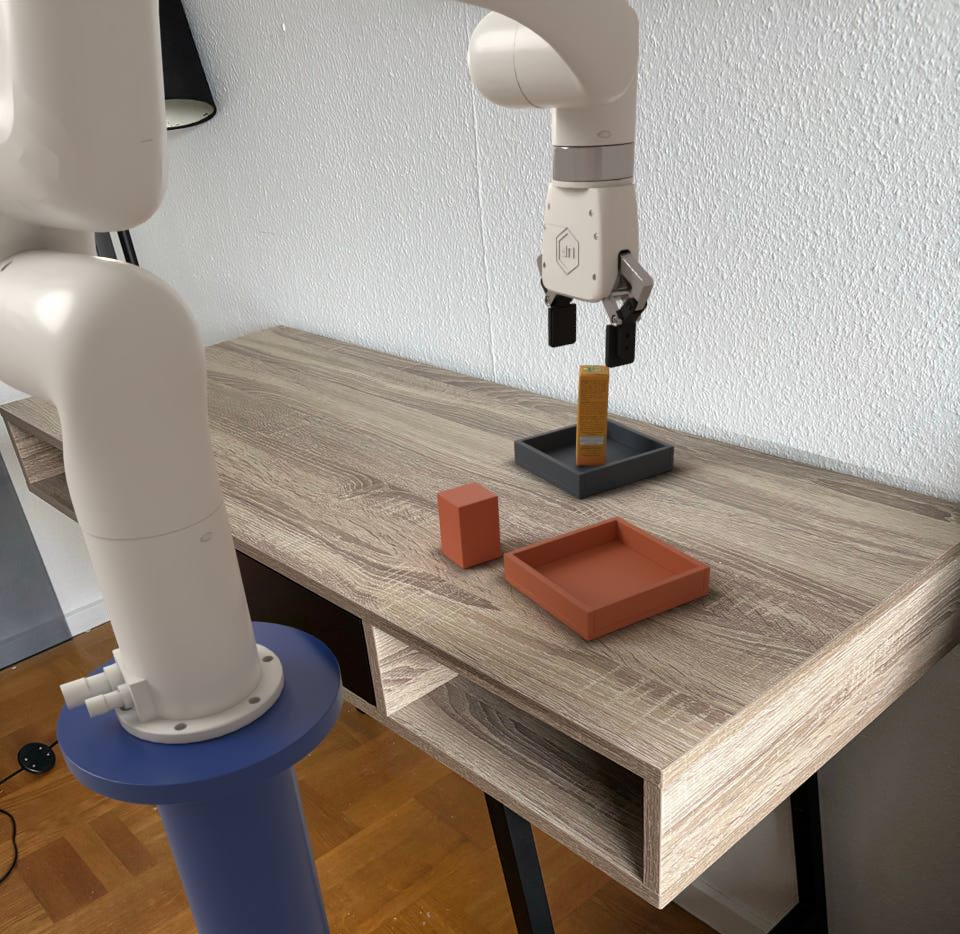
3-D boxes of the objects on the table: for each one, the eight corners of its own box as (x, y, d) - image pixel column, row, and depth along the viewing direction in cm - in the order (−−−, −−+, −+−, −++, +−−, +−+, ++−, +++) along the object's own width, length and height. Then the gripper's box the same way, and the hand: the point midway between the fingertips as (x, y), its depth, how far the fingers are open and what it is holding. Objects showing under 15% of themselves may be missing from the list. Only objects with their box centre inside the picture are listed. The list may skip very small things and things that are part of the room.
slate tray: (579, 499, 95) (579, 475, 94) (514, 463, 104) (513, 440, 103) (673, 469, 100) (674, 446, 99) (603, 437, 109) (603, 416, 108)
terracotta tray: (588, 641, 73) (588, 612, 71) (504, 580, 82) (503, 553, 80) (708, 594, 78) (710, 566, 76) (617, 541, 87) (617, 515, 85)
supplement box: (608, 466, 100) (610, 373, 95) (576, 467, 101) (575, 374, 95) (607, 455, 103) (608, 363, 98) (575, 455, 103) (575, 364, 98)
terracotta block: (463, 569, 84) (458, 507, 81) (441, 552, 87) (436, 492, 84) (501, 556, 86) (498, 495, 82) (479, 541, 89) (475, 481, 85)
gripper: (508, 164, 91) (512, 344, 100) (618, 176, 78) (612, 381, 87) (571, 158, 94) (570, 332, 103) (687, 167, 82) (675, 366, 90)
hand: (589, 354), depth 95 cm, fingers open, 9 cm apart
